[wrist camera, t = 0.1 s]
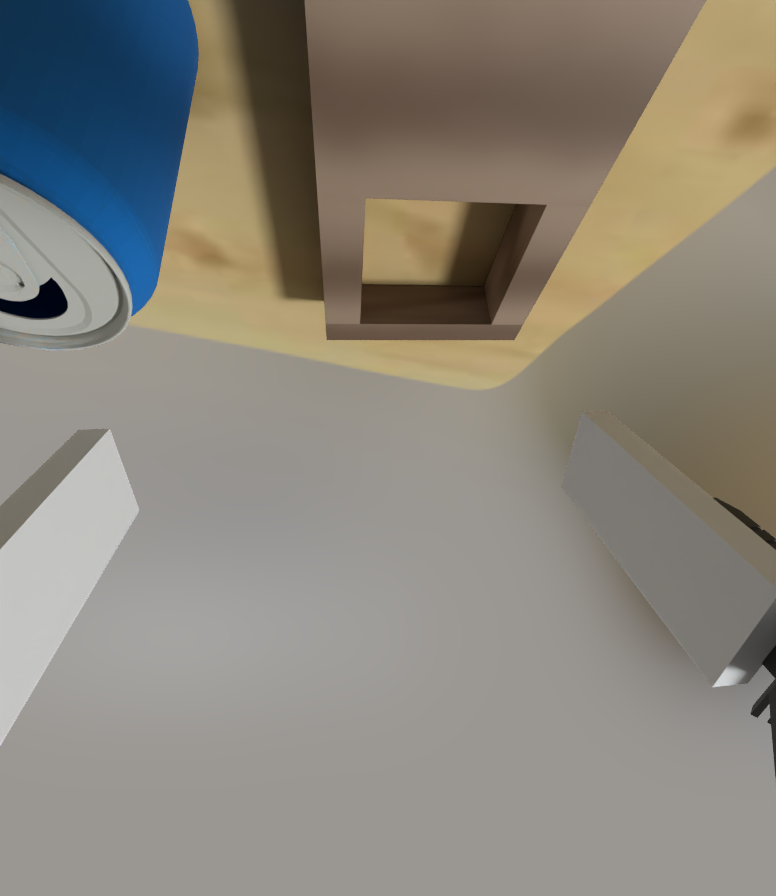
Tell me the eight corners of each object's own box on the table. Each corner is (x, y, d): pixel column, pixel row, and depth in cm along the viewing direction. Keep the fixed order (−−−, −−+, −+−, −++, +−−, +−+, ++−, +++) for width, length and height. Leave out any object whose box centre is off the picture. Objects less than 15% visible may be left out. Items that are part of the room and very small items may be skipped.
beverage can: (27, 86, 16) (-89, 348, 12) (-101, -213, 11) (-433, 63, 6) (210, 125, 18) (173, 368, 13) (184, -116, 12) (103, 160, 8)
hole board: (210, -1635, 4) (168, -2070, 3) (1208, -1163, 5) (1460, -1335, 4) (326, 301, 28) (326, 339, 27) (506, 303, 29) (514, 340, 28)
